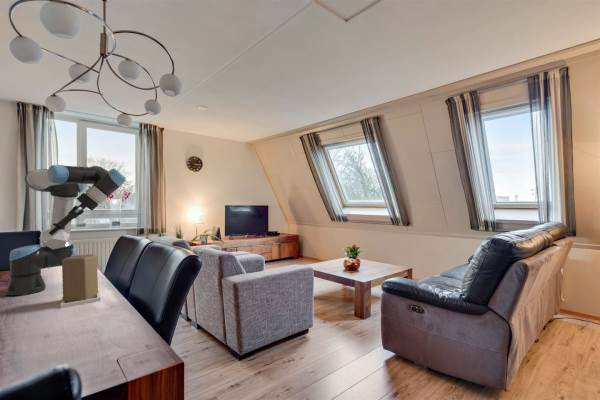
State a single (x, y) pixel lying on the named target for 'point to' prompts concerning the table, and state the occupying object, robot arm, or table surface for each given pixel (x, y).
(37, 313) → the table surface
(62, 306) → the base frame
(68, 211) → the robot arm
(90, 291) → the wooden block
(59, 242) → the die
